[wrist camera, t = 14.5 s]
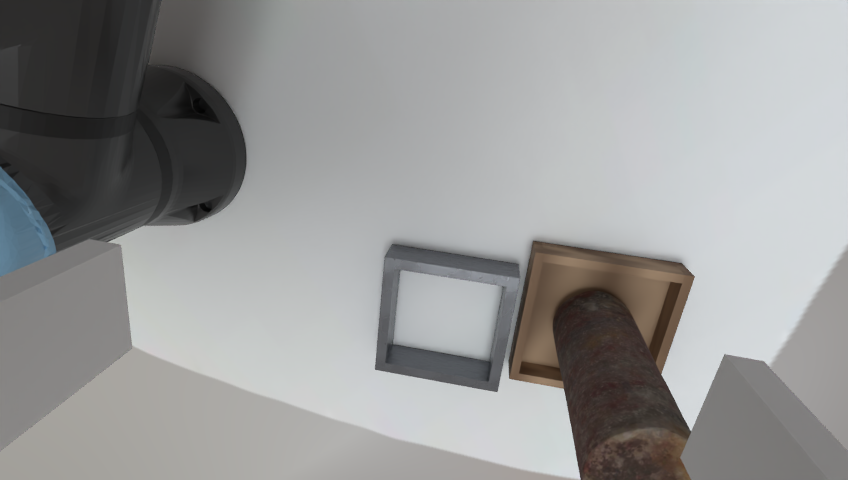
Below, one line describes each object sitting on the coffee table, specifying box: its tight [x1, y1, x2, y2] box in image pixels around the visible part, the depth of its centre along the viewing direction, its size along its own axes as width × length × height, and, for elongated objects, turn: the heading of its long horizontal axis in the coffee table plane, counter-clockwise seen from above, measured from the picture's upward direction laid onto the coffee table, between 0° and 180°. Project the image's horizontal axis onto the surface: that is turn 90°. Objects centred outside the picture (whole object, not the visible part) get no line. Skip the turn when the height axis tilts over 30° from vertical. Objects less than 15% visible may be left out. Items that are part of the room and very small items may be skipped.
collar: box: [375, 244, 520, 392], centre depth 47 cm, size 12×12×4 cm
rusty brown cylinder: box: [553, 291, 691, 480], centre depth 36 cm, size 8×7×20 cm
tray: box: [509, 241, 695, 389], centre depth 45 cm, size 14×14×3 cm
